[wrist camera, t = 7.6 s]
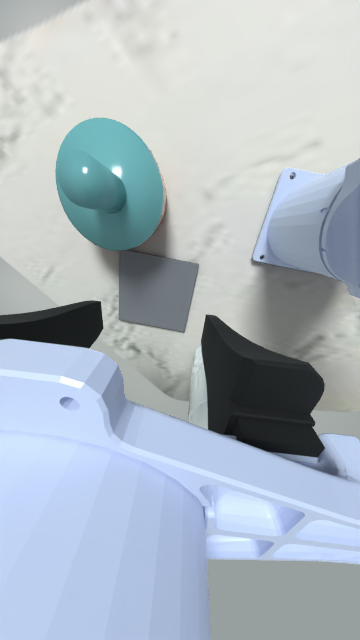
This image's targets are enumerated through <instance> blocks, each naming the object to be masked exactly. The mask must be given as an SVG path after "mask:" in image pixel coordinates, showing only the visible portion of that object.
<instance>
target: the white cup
mask: <svg viewBox="0 0 360 640" xmlns="http://www.w3.org/2000/svg"><path fill="white" fill-rule="evenodd" d="M188 422H189V423H191V424H194V425H197V426H200V427H202V428H205V429H208V408H207V385H206V376H205V370H204V364H203V358H202V352H201V345H200V346H199V347H198V348H197V349H196V351H195V355H194V359H193V367H192V376H191V386H190V400H189V413H188Z"/></svg>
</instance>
